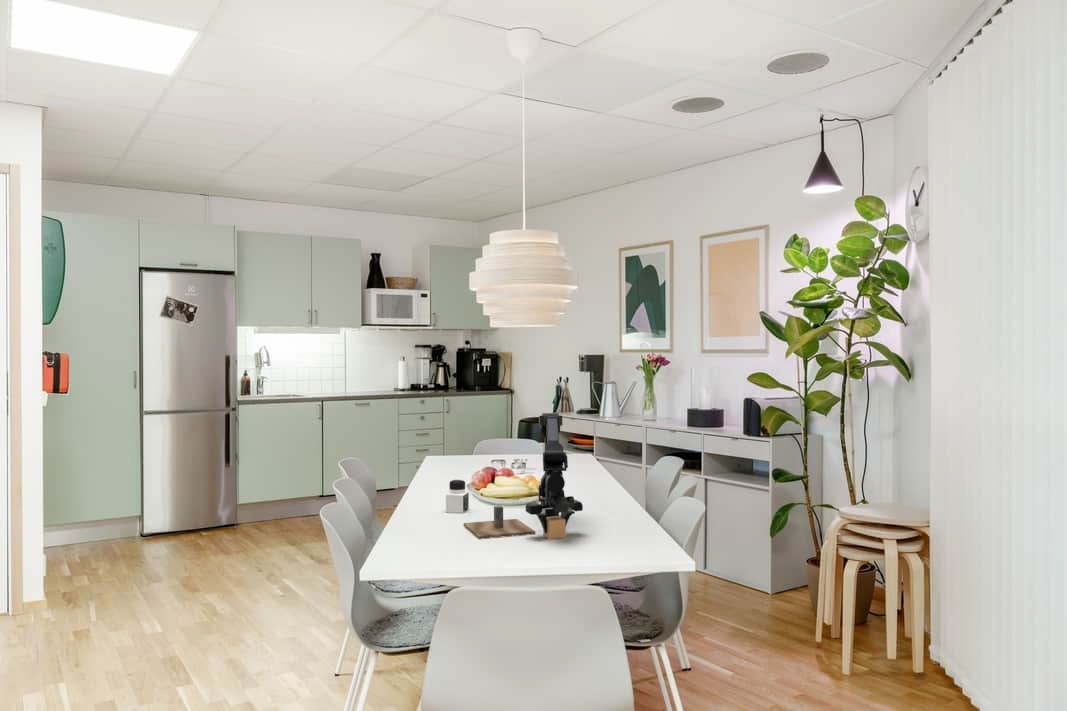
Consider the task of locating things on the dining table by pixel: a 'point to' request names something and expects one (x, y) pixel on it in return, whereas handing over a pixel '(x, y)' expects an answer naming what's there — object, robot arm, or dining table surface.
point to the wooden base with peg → (498, 526)
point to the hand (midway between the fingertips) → (554, 532)
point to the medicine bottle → (457, 497)
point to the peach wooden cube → (555, 527)
